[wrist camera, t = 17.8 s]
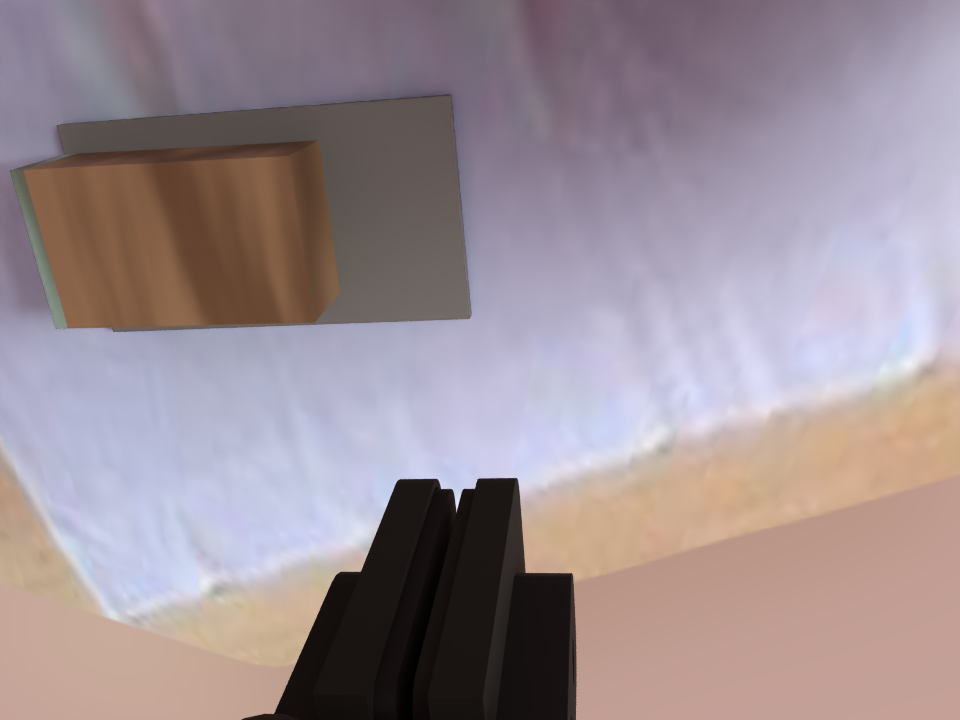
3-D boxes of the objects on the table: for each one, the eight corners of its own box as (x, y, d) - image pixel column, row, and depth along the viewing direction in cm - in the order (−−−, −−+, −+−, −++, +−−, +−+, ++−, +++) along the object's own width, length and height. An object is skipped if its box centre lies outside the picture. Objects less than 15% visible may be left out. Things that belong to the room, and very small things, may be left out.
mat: (451, 94, 35) (449, 95, 35) (471, 314, 39) (469, 318, 39) (64, 123, 38) (56, 125, 37) (119, 327, 42) (113, 332, 41)
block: (288, 155, 33) (10, 170, 34) (314, 322, 35) (55, 328, 37) (318, 140, 36) (65, 154, 38) (340, 292, 39) (103, 299, 41)
